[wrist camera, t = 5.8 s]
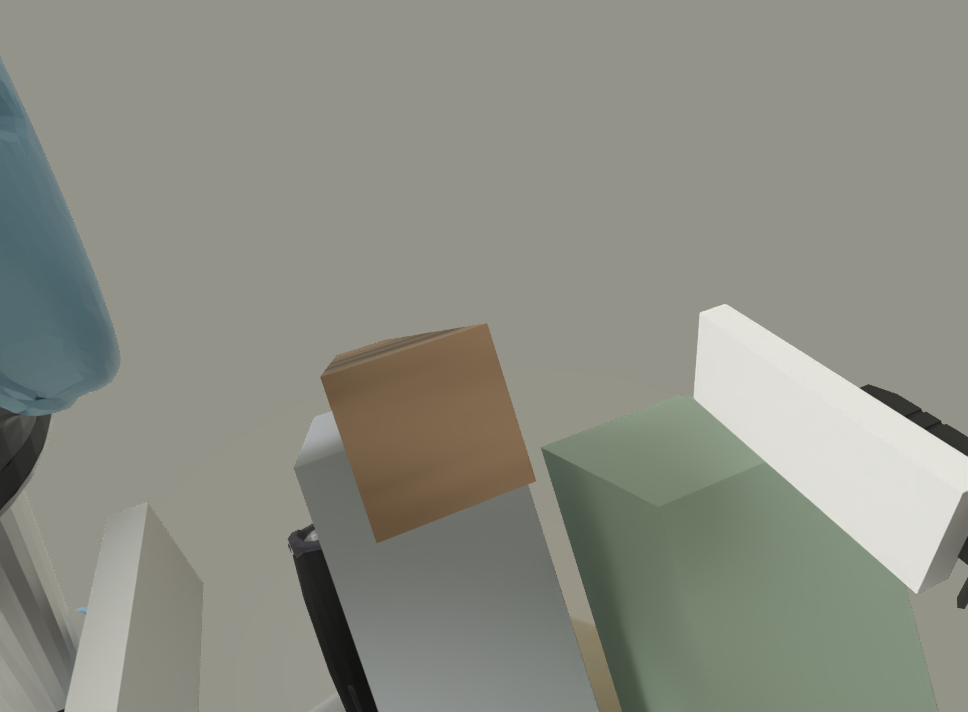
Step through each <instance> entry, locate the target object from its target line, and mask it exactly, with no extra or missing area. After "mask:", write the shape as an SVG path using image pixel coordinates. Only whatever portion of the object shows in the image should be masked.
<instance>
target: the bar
mask: <svg viewBox="0 0 968 712" xmlns="http://www.w3.org/2000/svg"><path fill="white" fill-rule="evenodd" d="M321 380H322V383H323V386H324V389H325V392H326V395H327V398H328V401H329V404H330V407H331V410H332V413H333V416H334V419H335V422H336V425H337V428H338V430H339V433H340V436H341V439H342V442H343V445H344V448H345V451H346V454H347V457H348V460H349V463H350V466H351V469H352V472H353V475H354V478H355V481H356V484H357V487H358V490H359V493H360V495H361V498H362V501H363V504H364V507H365V510H366V513H367V516H368V519H369V522H370V525H371V528H372V531H373V534H374V537H375V540H376V543H379V542H382V541H384V540H387V539H389V538H392V537H395V536H397V535H400V534H402V533H405V532H407V531H410V530H413V529H415V528H418V527H420V526H423V525H425V524H428V523H430V522H433V521H436V520H438V519H441V518H443V517H446V516H448V515H451V514H454V513H456V512H459V511H461V510H464V509H466V508H469V507H471V506H474V505H477V504H479V503H482V502H484V501H487V500H489V499H492V498H494V497H497V496H500V495H502V494H505V493H507V492H510V491H512V490H515V489H518V488H520V487H523V486H525V485H528V484H530V483H533V482H535V481H536V479H535V476H534V473H533V469H532V466H531V463H530V460H529V456H528V453H527V450H526V447H525V444H524V441H523V437H522V434H521V431H520V428H519V424H518V421H517V418H516V415H515V411H514V408H513V405H512V402H511V399H510V395H509V392H508V389H507V386H506V382H505V380H504V376H503V373H502V370H501V366H500V363H499V360H498V357H497V354H496V350H495V347H494V344H493V341H492V337H491V334H490V331H489V328H488V325H487V323H486V324H480V325H474V326H468V327H462V328H456V329H450V330H443V331H437V332H432V333H426V334H419V335H413V336H407V337H401V338H395V339H388V340H384V341H381V342H378V343H375V344H371V345H368V346H365V347H362V348H359V349H356V350H353V351H349V352H346V353H343V354H340V355H336V357H335V358H334V359H333V361H332V362H331V364H330V365H329V366H328V367H327V369H326V370H325V371H324V373H323V374H322V375H321Z"/></svg>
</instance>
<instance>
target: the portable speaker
mask: <svg viewBox="0 0 968 712" xmlns="http://www.w3.org/2000/svg"><path fill="white" fill-rule="evenodd" d="M288 541H289V543H290V545H291V548H292V550H293V553H294V555H293V558H294V562H295V566H296V570H297V574H298V578H299V582H300V586H301V589H302V593H303V597H304V601H305V604H306V606H307V609H308V612H309V615H310V618H311V621H312V623H313V626H314V630H315V632H316V635H317V638H318V641H319V644H320V647H321V650H322V653H323V656H324V658H325V661H326V664H327V667H328V670H329V672H330V675H331V677H332V679H333V682H334V684H335V687H336V689H337V691H338V694H339V696H340V698H341V701H342V703H343V705H344V708H345V710H346V712H378V709H377V706H376V703H375V700H374V697H373V695H372V692H371V689H370V686H369V683H368V680H367V677H366V674H365V672H364V669H363V666H362V663H361V660H360V657H359V654H358V651H357V648H356V646H355V643H354V640H353V637H352V634H351V631H350V628H349V625H348V623H347V620H346V617H345V614H344V611H343V608H342V605H341V602H340V600H339V597H338V594H337V591H336V588H335V585H334V582H333V579H332V576H331V574H330V571H329V568H328V565H327V562H326V559H325V556H324V553H323V551H322V548H321V545H320V542H319V539H318V536H317V533H316V530H315V528H314V525H313V524H311V525H310V526H308V527H306V528H304V529H302V530H297V531H295V532H293V533H291V535H290V536H289V538H288ZM290 545H289V544H288V547H289V549H290V551H291V548H290Z"/></svg>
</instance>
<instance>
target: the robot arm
mask: <svg viewBox="0 0 968 712" xmlns="http://www.w3.org/2000/svg"><path fill="white" fill-rule="evenodd" d="M119 366H120V351H119V346H118V343H117V338H116V335H115V331H114V328H113V324H112V321H111V319H110V315H109V313H108V309H107V306H106V303H105V301H104V298H103V295H102V292H101V290H100V287H99V284H98V281H97V279H96V276H95V273H94V271H93V268H92V266H91V263H90V261H89V258H88V256H87V253H86V251H85V248H84V246H83V243H82V241H81V238H80V236H79V233H78V231H77V228H76V226H75V223H74V221H73V218H72V216H71V214H70V211H69V209H68V207H67V204H66V202H65V199H64V197H63V195H62V192H61V190H60V188H59V185H58V183H57V181H56V178H55V176H54V174H53V171H52V169H51V167H50V164H49V162H48V160H47V158H46V155H45V153H44V151H43V148H42V146H41V144H40V142H39V140H38V137H37V135H36V133H35V130H34V128H33V126H32V124H31V122H30V119H29V117H28V115H27V113H26V110H25V108H24V106H23V104H22V102H21V100H20V98H19V95H18V93H17V91H16V89H15V86H14V84H13V82H12V80H11V78H10V76H9V74H8V72H7V70H6V68H5V66H4V64H3V62H2V60H1V58H0V712H199V684H200V659H201V633H202V606H203V582H202V581H201V579H200V578H199V576H198V575H197V573H196V572H195V570H194V569H193V568H192V566H191V565H190V563H189V562H188V560H187V559H186V557H185V556H184V554H183V553H182V551H181V550H180V548H179V547H178V545H177V544H176V543H175V541H174V539H173V538H172V537H171V535H170V534H169V532H168V531H167V529H166V528H165V526H164V525H163V524H162V522H161V520H160V519H159V517H158V516H157V515H156V513H155V512H154V510H153V509H152V507H151V506H150V504H149V503H148V502H147V503H144V504H141V505H138V506H135V507H132V508H129V509H126V510H124V511H120V512H117V513H115V514H111V515H109V516H108V517H107V522H106V526H105V531H104V535H103V540H102V545H101V549H100V553H99V558H98V562H97V567H96V571H95V576H94V580H93V585H92V589H91V594H90V599H89V603H88V607H87V608H84V607H83V608H79V609H77V610H75V609H72V608H68V607H67V605H66V603H65V600H64V597H63V594H62V591H61V589H60V586H59V583H58V580H57V577H56V575H55V572H54V569H53V567H52V564H51V561H50V558H49V555H48V552H47V550H46V547H45V544H44V541H43V538H42V536H41V533H40V530H39V528H38V525H37V522H36V519H35V516H34V513H33V511H32V508H31V505H30V502H29V499H28V497H27V494H26V491H25V486H26V485H27V484H28V483H29V481H30V480H31V478H32V476H33V475H34V473H35V471H36V469H37V467H38V465H39V463H40V461H41V459H42V457H43V455H44V452H45V449H46V447H47V443H48V440H49V437H50V434H51V428H52V421H53V416H54V415H53V414H54V413H56V412H59V411H62V410H66V409H68V408H70V407H71V406H72V405H73V404H74V403H75V401H76V400H77V399H78V398H79V397H81V396H83V395H85V394H87V393H90V392H93V391H97V390H99V389H101V388H103V387H105V386H106V385H107V384H109V383H110V382H111V381H112V380H113V379H114V377H115V375H116V374H117V372H118V369H119ZM694 399H695V400H696V401H697V402H698V403H699V404H700V405H702V406H703V407H704V408H705V409H706V410H707V411H708V412H710V413H711V414H712V415H713V416H714V417H715V418H716V419H718V420H719V421H720V422H721V423H722V424H723V425H724V426H726V427H727V428H728V429H729V430H730V431H731V432H732V433H734V434H735V435H736V436H737V437H738V438H739V439H740V440H741V441H743V442H744V443H745V444H746V445H747V446H748V447H749V448H751V449H752V450H753V451H754V452H755V453H756V454H757V455H759V456H760V457H761V458H762V459H763V460H764V461H765V462H767V463H768V464H769V465H770V466H771V467H772V468H773V469H775V470H776V471H777V472H778V473H779V474H780V475H781V476H782V477H784V478H785V479H786V480H787V481H788V482H789V483H790V484H792V485H793V486H794V487H795V488H796V489H797V490H798V491H800V492H801V493H802V494H803V495H804V496H805V497H806V498H808V499H809V500H810V501H811V502H812V503H813V504H814V505H816V506H817V507H818V508H819V509H820V510H821V511H822V512H823V513H825V514H826V515H827V516H828V517H829V518H830V519H831V520H833V521H834V522H835V523H836V524H837V525H838V526H839V527H841V528H842V529H843V530H844V531H845V532H846V533H847V534H849V535H850V536H851V537H852V538H853V539H854V540H855V541H857V542H858V543H859V544H860V545H861V546H862V547H863V548H864V549H866V550H867V551H868V552H869V553H870V554H871V555H872V556H874V557H875V558H876V559H877V560H878V561H879V562H880V563H882V564H883V565H884V566H885V567H886V568H887V569H888V570H890V571H891V572H892V573H893V574H894V575H895V576H896V577H898V578H899V579H900V580H901V581H902V582H903V583H904V584H905V585H907V586H908V587H909V588H910V589H911V590H913V591H914V592H915V593H916V594H918V593H920V592H922V591H924V590H926V589H928V588H930V587H932V586H934V585H936V584H938V583H940V582H942V581H944V580H946V579H948V578H949V576H950V573H951V572H952V569H953V567H954V565H955V563H956V561H957V559H958V558H960V559H961V560H962V561H964V562H965V563H966V564H967V565H968V437H967V436H965V435H964V434H962V433H961V432H959V431H957V430H956V429H954V428H952V427H951V426H949V425H947V424H945V425H944V424H942V423H941V420H939V419H937V418H936V417H934V416H932V415H931V414H929V413H927V412H922V410H921V408H919V407H918V406H916V405H914V404H913V403H911V402H909V401H908V400H906V399H904V398H903V397H901V396H899V395H898V394H895V393H892V392H889V391H886V390H884V389H881V388H878V387H875V386H872V385H869V384H868V385H866V386H863V387H861V388H858V387H856V386H855V385H853V384H852V383H850V382H849V381H847V380H845V379H843V378H842V377H840V376H839V375H837V374H836V373H834V372H833V371H831V370H830V369H828V368H826V367H825V366H823V365H822V364H820V363H818V362H817V361H815V360H814V359H812V358H811V357H809V356H807V355H806V354H804V353H803V352H801V351H800V350H798V349H796V348H795V347H793V346H792V345H790V344H788V343H787V342H785V341H784V340H782V339H781V338H779V337H777V336H776V335H774V334H773V333H771V332H769V331H768V330H766V329H765V328H763V327H762V326H760V325H758V324H757V323H755V322H754V321H752V320H751V319H749V318H747V317H746V316H744V315H743V314H741V313H739V312H738V311H736V310H735V309H733V308H732V307H730V306H728V305H727V304H724V305H721V306H719V307H715V308H712V309H710V310H707V311H704V312H701V313H700V318H699V333H698V345H697V359H696V372H695V386H694ZM967 603H968V578H967V580H966V582H965V584H964V585H963V588H962V589H961V591H960V593H959V595H958V597H957V607H958V608H962V609H965V607H966V605H967Z"/></svg>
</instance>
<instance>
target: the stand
mask: <svg viewBox="0 0 968 712" xmlns="http://www.w3.org/2000/svg"><path fill="white" fill-rule="evenodd" d="M294 470H295V473H296V476H297V479H298V481H299V484H300V487H301V490H302V493H303V495H304V499H305V502H306V505H307V507H308V510H309V513H310V516H311V519H312V522H313V525H314V528H315V530H316V533H317V536H318V539H319V542H320V545H321V548H322V551H323V553H324V556H325V559H326V562H327V565H328V568H329V571H330V574H331V576H332V579H333V582H334V585H335V588H336V591H337V594H338V597H339V600H340V602H341V605H342V608H343V611H344V614H345V617H346V620H347V623H348V625H349V628H350V631H351V634H352V637H353V640H354V643H355V646H356V648H357V651H358V654H359V657H360V660H361V663H362V666H363V669H364V672H365V674H366V677H367V680H368V683H369V686H370V689H371V692H372V695H373V697H374V700H375V703H376V706H377V709H378V712H599V710H598V707H597V703H596V700H595V697H594V694H593V691H592V687H591V684H590V681H589V678H588V675H587V671H586V668H585V665H584V662H583V659H582V655H581V652H580V649H579V646H578V643H577V639H576V636H575V633H574V630H573V627H572V623H571V620H570V617H569V614H568V611H567V607H566V604H565V601H564V598H563V595H562V591H561V588H560V585H559V582H558V579H557V575H556V572H555V569H554V566H553V563H552V559H551V556H550V553H549V550H548V547H547V543H546V540H545V537H544V534H543V531H542V527H541V524H540V521H539V518H538V515H537V511H536V508H535V505H534V502H533V499H532V495H531V492H530V489H529V486H528V485H525V486H523V487H520V488H518V489H515V490H512V491H510V492H507V493H505V494H502V495H500V496H497V497H494V498H492V499H489V500H487V501H484V502H482V503H479V504H477V505H474V506H471V507H469V508H466V509H464V510H461V511H459V512H456V513H454V514H451V515H448V516H446V517H443V518H441V519H438V520H436V521H433V522H430V523H428V524H425V525H423V526H420V527H418V528H415V529H413V530H410V531H407V532H405V533H402V534H400V535H397V536H395V537H392V538H389V539H387V540H384V541H382V542H379V543H376V540H375V537H374V534H373V531H372V528H371V525H370V522H369V519H368V516H367V513H366V510H365V507H364V504H363V501H362V498H361V495H360V493H359V490H358V487H357V484H356V481H355V478H354V475H353V472H352V469H351V466H350V463H349V460H348V457H347V454H346V451H345V448H344V445H343V442H342V439H341V436H340V433H339V430H338V428H337V425H336V422H335V419H334V416H333V413H332V411H331V412H328V413H325V414H322V415H319V416H316V417H314V419H313V422H312V424H311V427H310V429H309V432H308V434H307V437H306V439H305V442H304V444H303V447H302V449H301V452H300V454H299V456H298V459H297V462H296V464H295V466H294Z"/></svg>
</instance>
